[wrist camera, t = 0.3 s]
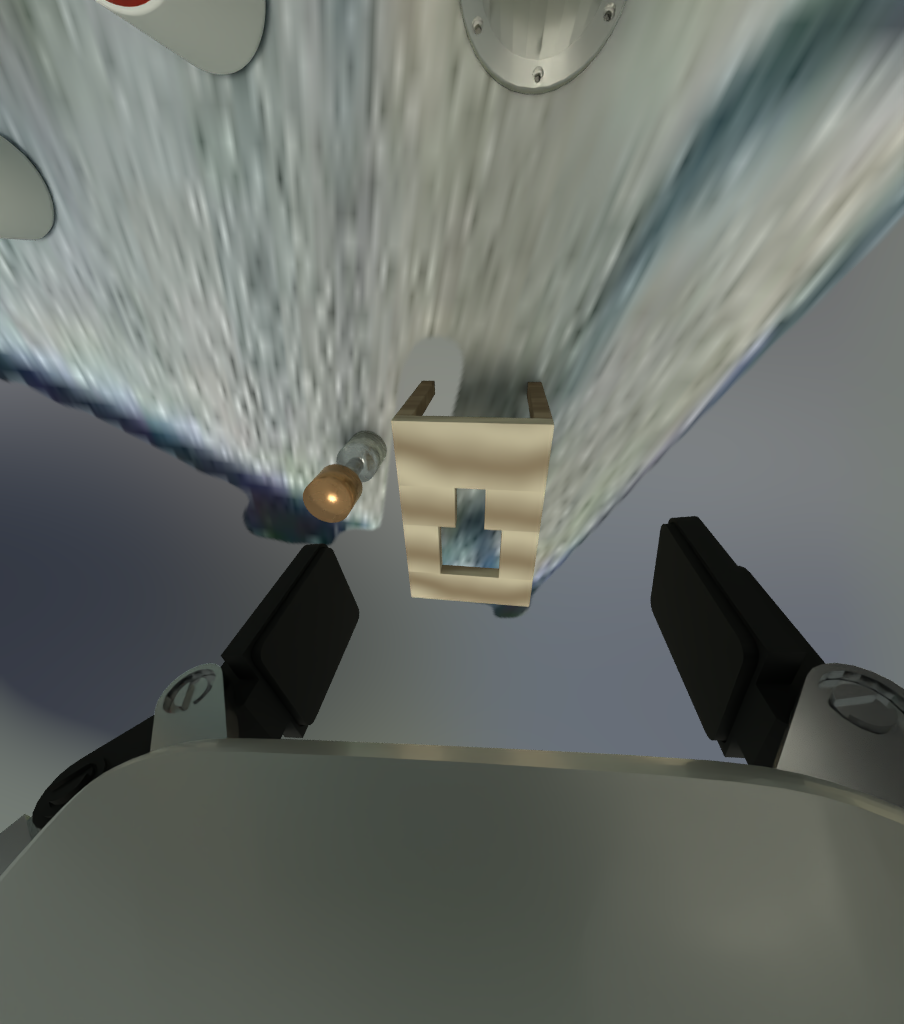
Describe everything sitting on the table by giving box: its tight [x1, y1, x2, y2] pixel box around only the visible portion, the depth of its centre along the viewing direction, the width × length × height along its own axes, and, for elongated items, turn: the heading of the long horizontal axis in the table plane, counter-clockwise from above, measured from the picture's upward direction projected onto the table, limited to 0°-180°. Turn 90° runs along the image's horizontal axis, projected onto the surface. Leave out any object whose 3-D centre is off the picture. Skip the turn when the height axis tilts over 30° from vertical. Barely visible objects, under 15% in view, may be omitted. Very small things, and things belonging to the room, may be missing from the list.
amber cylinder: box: [303, 431, 387, 523], centre depth 44 cm, size 5×5×14 cm
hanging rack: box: [391, 381, 554, 607], centre depth 43 cm, size 22×14×14 cm, turn 2°
